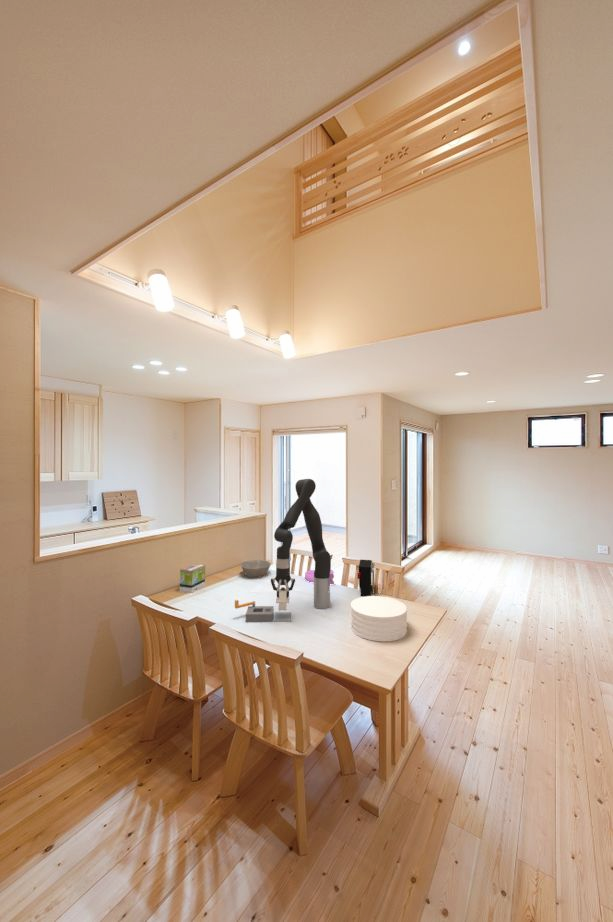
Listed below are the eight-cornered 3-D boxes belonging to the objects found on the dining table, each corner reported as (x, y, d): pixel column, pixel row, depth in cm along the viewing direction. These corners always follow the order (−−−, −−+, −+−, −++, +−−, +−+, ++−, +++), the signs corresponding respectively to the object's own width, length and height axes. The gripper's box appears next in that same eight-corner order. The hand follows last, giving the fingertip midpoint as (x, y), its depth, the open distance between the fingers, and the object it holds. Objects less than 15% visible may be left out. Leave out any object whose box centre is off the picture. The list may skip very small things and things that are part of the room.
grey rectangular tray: (273, 613, 206) (273, 605, 206) (272, 621, 195) (272, 613, 195) (248, 613, 205) (248, 605, 205) (245, 621, 194) (245, 613, 194)
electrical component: (374, 600, 226) (374, 567, 226) (357, 598, 228) (357, 566, 228) (374, 590, 243) (374, 560, 243) (359, 589, 245) (359, 559, 245)
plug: (289, 605, 204) (289, 585, 204) (289, 610, 197) (289, 590, 197) (276, 605, 204) (276, 585, 204) (275, 610, 197) (276, 590, 197)
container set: (300, 581, 262) (300, 562, 262) (317, 577, 272) (317, 559, 272) (323, 591, 242) (323, 571, 243) (340, 586, 252) (340, 567, 252)
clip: (255, 606, 205) (255, 596, 205) (235, 611, 198) (236, 601, 198) (254, 605, 207) (254, 595, 207) (234, 610, 199) (234, 600, 199)
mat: (291, 613, 206) (291, 612, 206) (291, 621, 195) (291, 620, 195) (275, 613, 206) (275, 612, 206) (274, 621, 195) (274, 620, 195)
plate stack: (368, 612, 207) (368, 592, 207) (415, 626, 190) (415, 604, 190) (339, 630, 186) (340, 607, 186) (391, 647, 168) (391, 622, 168)
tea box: (192, 593, 237) (192, 570, 237) (179, 591, 240) (179, 569, 240) (205, 586, 251) (205, 564, 251) (193, 584, 254) (193, 563, 255)
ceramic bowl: (259, 571, 287) (259, 558, 287) (276, 578, 269) (276, 564, 269) (234, 576, 272) (234, 563, 272) (250, 584, 255) (250, 570, 255)
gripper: (296, 564, 205) (295, 595, 204) (270, 564, 204) (270, 595, 204) (296, 568, 197) (295, 600, 197) (269, 568, 197) (269, 600, 197)
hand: (282, 597), depth 201 cm, fingers closed on plug, 4 cm apart
